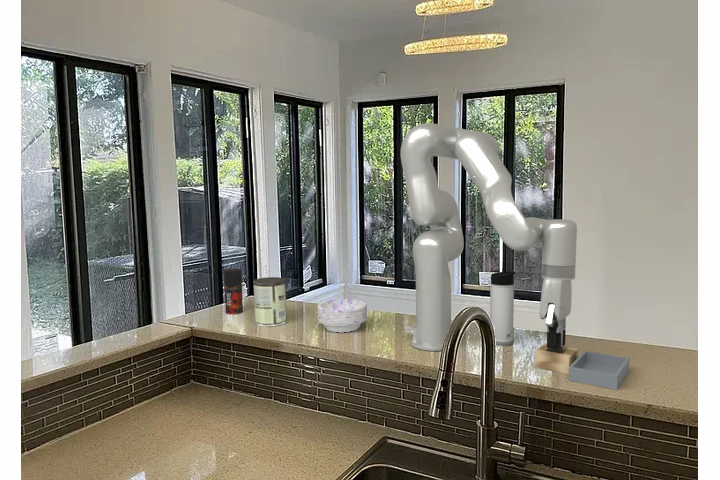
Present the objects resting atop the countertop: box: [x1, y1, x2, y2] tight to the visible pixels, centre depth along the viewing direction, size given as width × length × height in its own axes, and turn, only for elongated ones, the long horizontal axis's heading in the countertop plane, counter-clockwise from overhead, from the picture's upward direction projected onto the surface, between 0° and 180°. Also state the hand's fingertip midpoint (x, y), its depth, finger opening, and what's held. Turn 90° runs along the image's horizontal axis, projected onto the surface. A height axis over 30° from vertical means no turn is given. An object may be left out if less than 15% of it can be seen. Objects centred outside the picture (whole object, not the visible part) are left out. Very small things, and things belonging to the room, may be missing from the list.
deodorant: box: [223, 268, 244, 315], centre depth 190 cm, size 6×6×15 cm
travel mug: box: [489, 270, 516, 347], centre depth 150 cm, size 6×7×20 cm
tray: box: [568, 350, 630, 391], centre depth 125 cm, size 10×14×3 cm
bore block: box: [534, 342, 579, 375], centre depth 131 cm, size 8×8×4 cm
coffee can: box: [252, 276, 288, 328], centre depth 175 cm, size 10×10×14 cm
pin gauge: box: [550, 317, 564, 354], centre depth 131 cm, size 3×3×12 cm
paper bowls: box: [316, 298, 368, 334], centre depth 167 cm, size 15×15×8 cm
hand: (555, 345), depth 131 cm, fingers closed on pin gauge, 2 cm apart
